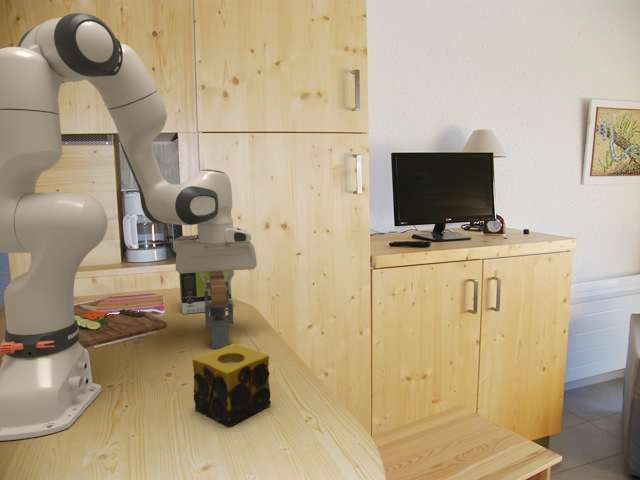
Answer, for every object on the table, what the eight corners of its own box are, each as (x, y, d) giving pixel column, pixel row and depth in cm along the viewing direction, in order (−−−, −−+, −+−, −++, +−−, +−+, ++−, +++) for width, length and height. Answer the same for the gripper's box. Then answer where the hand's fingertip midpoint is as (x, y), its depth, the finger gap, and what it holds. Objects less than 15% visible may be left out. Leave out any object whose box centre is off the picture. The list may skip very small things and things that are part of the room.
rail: (226, 306, 116) (226, 286, 116) (211, 307, 116) (211, 287, 115) (222, 286, 135) (222, 268, 135) (209, 286, 135) (209, 269, 134)
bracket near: (234, 347, 119) (232, 303, 117) (206, 349, 117) (204, 305, 116) (233, 341, 123) (231, 299, 121) (206, 344, 121) (204, 301, 119)
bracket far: (230, 329, 132) (229, 290, 131) (205, 331, 131) (204, 291, 129) (229, 324, 136) (228, 286, 134) (205, 326, 134) (204, 288, 133)
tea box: (227, 302, 160) (226, 257, 158) (232, 310, 150) (230, 263, 148) (180, 306, 155) (178, 260, 153) (181, 315, 146) (179, 266, 144)
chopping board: (21, 316, 147) (20, 306, 146) (111, 300, 165) (110, 291, 165) (70, 356, 115) (69, 344, 114) (175, 330, 133) (174, 319, 133)
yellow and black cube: (236, 391, 95) (234, 342, 94) (272, 406, 89) (271, 354, 88) (192, 410, 88) (190, 357, 86) (229, 429, 81) (227, 372, 80)
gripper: (172, 237, 117) (174, 293, 119) (256, 234, 122) (258, 288, 124) (173, 234, 123) (176, 287, 125) (254, 231, 128) (255, 282, 130)
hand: (217, 287), depth 125 cm, fingers closed on rail, 3 cm apart
